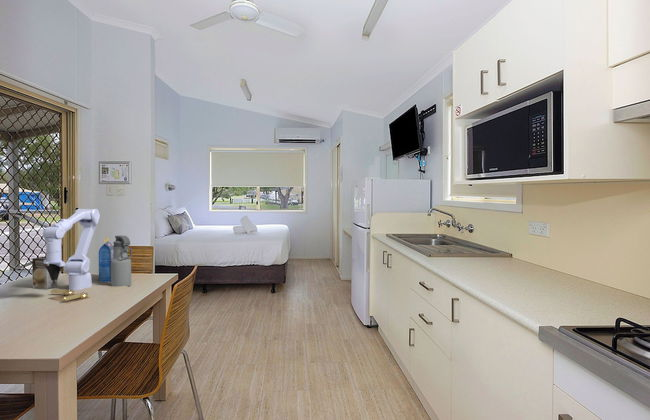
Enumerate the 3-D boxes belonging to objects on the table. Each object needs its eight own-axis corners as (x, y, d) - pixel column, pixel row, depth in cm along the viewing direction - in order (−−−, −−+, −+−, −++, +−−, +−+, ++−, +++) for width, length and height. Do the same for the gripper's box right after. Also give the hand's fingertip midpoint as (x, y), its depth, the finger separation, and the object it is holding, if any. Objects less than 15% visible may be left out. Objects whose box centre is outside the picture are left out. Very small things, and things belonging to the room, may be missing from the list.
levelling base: (70, 295, 173) (70, 292, 173) (90, 299, 166) (90, 296, 166) (47, 300, 164) (47, 297, 164) (67, 305, 157) (67, 302, 157)
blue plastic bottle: (98, 282, 200) (98, 239, 199) (102, 277, 211) (101, 236, 210) (111, 281, 202) (110, 238, 201) (114, 277, 213) (113, 236, 212)
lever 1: (76, 293, 172) (75, 288, 172) (70, 295, 168) (70, 291, 168) (54, 293, 172) (54, 288, 172) (47, 295, 168) (47, 290, 168)
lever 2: (84, 296, 168) (84, 291, 168) (89, 297, 167) (89, 292, 167) (59, 302, 159) (59, 297, 158) (65, 303, 157) (65, 298, 157)
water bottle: (135, 285, 194) (135, 235, 193) (119, 289, 185) (118, 237, 184) (123, 283, 198) (123, 234, 197) (106, 287, 189) (106, 236, 188)
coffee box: (31, 288, 185) (31, 258, 184) (42, 285, 191) (42, 256, 191) (47, 289, 184) (46, 259, 184) (57, 286, 191) (57, 257, 190)
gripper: (35, 251, 165) (36, 279, 166) (52, 254, 159) (53, 283, 160) (52, 249, 172) (53, 276, 172) (69, 252, 165) (70, 280, 166)
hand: (54, 279), depth 166 cm, fingers closed
